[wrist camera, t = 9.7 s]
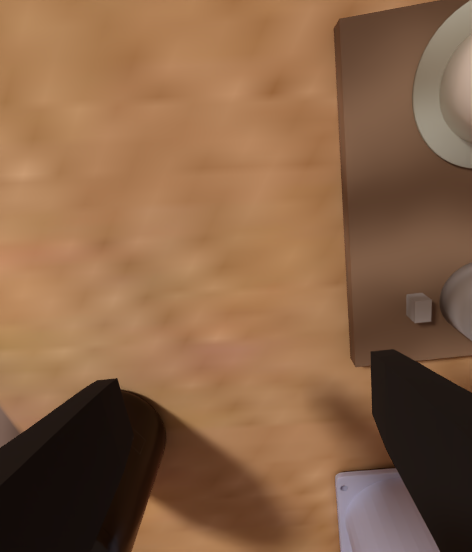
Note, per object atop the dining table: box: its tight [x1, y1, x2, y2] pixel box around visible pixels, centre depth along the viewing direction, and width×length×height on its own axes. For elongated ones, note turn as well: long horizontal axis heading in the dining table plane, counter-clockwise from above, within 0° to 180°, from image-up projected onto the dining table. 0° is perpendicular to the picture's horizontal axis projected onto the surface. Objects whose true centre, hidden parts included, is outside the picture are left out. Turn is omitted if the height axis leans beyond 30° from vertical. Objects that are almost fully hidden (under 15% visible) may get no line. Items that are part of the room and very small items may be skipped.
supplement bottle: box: [91, 390, 166, 552], centre depth 17 cm, size 7×7×12 cm
